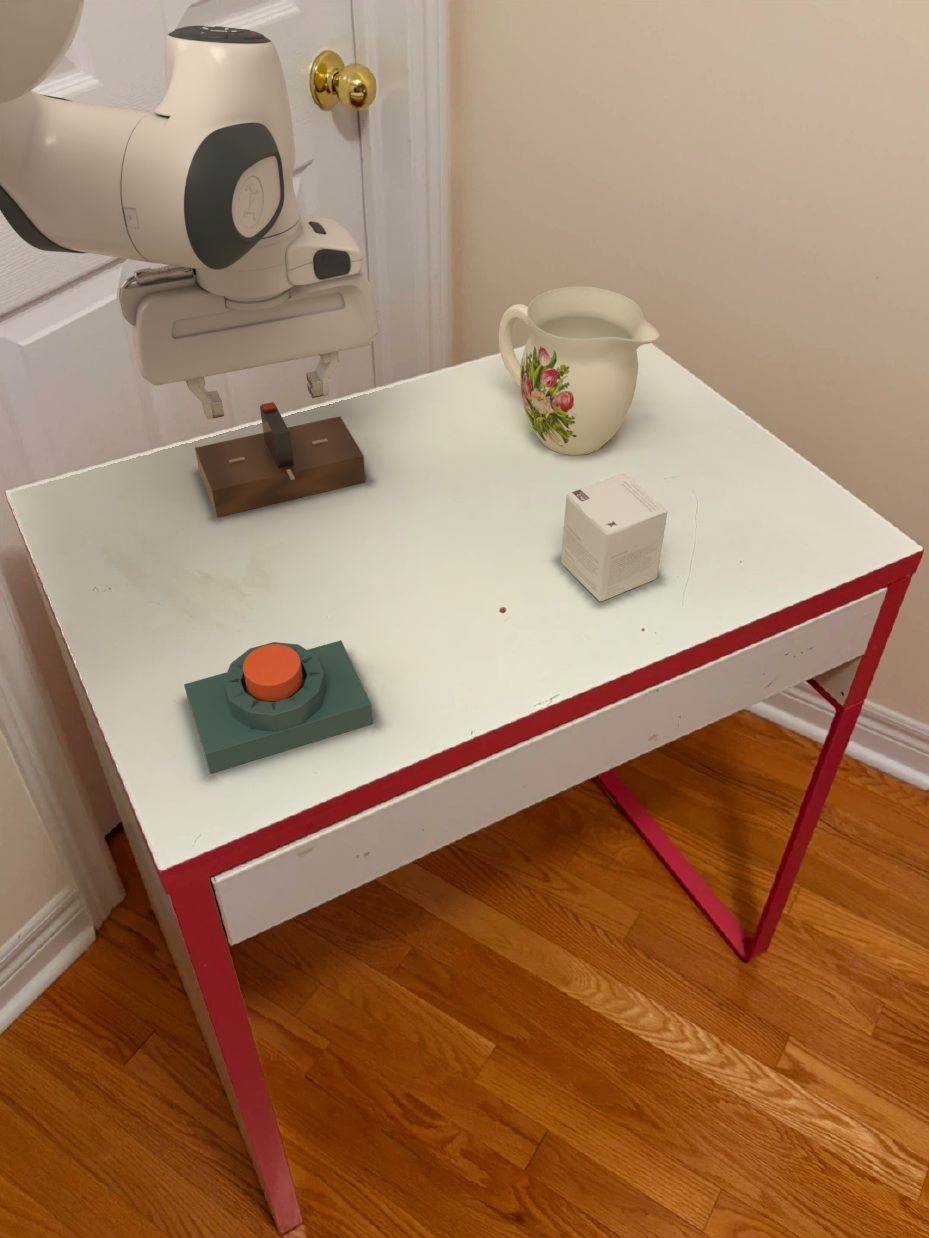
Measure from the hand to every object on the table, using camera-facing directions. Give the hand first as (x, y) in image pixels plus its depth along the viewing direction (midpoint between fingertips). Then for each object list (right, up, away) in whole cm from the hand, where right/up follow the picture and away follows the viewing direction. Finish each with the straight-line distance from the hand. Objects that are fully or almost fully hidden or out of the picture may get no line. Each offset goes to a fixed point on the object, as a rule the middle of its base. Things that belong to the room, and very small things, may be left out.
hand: (267, 404), depth 92 cm
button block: (+4, -26, -15) cm, 30 cm away
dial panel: (0, -6, +6) cm, 8 cm away
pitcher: (+27, 0, +12) cm, 30 cm away
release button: (+4, -23, -18) cm, 29 cm away
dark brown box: (0, -4, +3) cm, 5 cm away
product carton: (+30, -15, -3) cm, 33 cm away
